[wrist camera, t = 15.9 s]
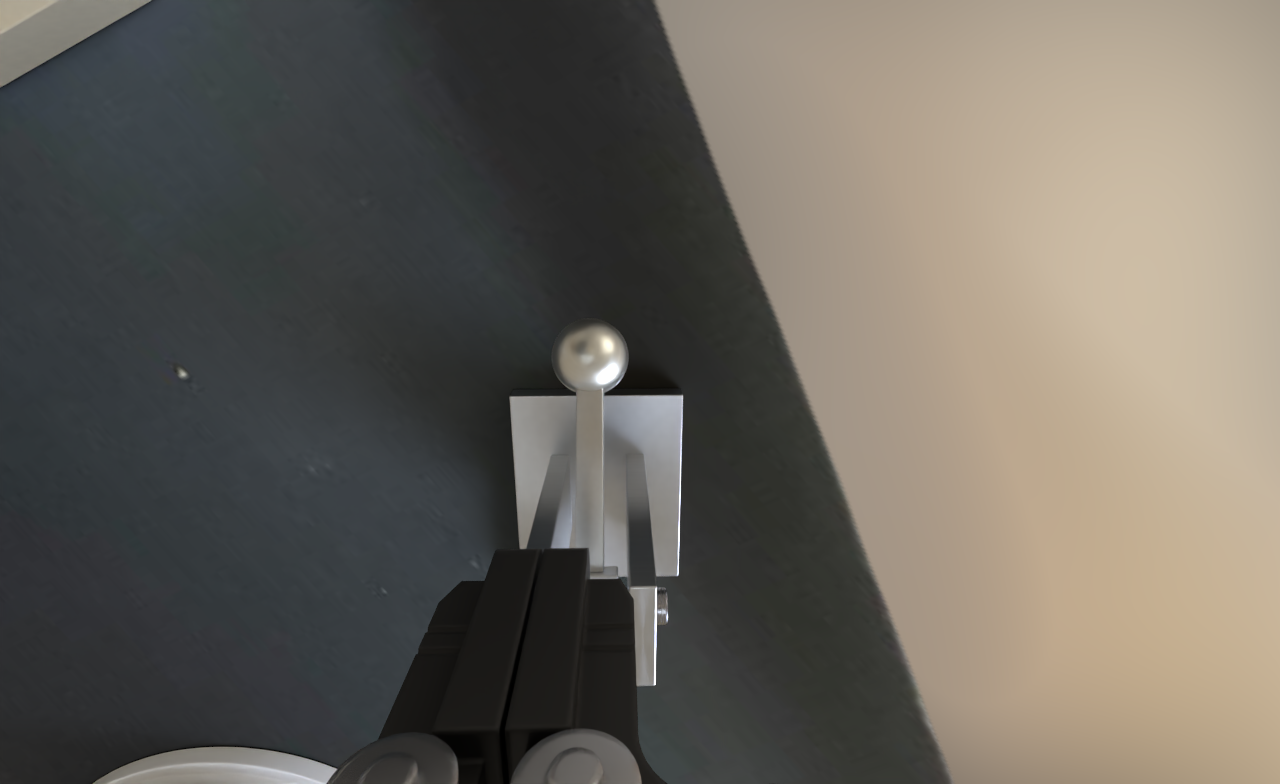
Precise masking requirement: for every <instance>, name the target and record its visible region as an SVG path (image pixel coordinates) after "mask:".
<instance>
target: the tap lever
mask: <svg viewBox="0 0 1280 784" xmlns="http://www.w3.org/2000/svg"><path fill="white" fill-rule="evenodd" d="M551 358H552V365H553V369H554V372H555V374H556V376H557V377H558V379H559V380H560V381H561V383H562V384H563V385H565V386H566V387H567V388H568V389H570V390H571V391H573V392H576V517H575V548H589V556H590V579H618V567H617V566H608V567H604V393H605V392H607V391H609V390H611V389H612V388H614V387H615V386H616V385H617V384H618V383H619V382H620V381H621V379H622V378H623V376H624V374H625V372H626V370H627V367H628V361H629V353H628V348H627V344H626V341H625V340H624V338H623V336H622V335H621V333H620V332H619V331H618V330H617V329H616V328H615V327H614V326H612V325H611V324H609V323H608V322H605V321H603V320H600V319H595V318H585V319H580V320H577V321H574V322H572V323H570V324H569V325H567V326H566V327H565V328H564V329H563V330H562V331H561V332H560V333H559V334H558V336H557V338H556V340H555V342H554V344H553V348H552V354H551Z"/></svg>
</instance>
